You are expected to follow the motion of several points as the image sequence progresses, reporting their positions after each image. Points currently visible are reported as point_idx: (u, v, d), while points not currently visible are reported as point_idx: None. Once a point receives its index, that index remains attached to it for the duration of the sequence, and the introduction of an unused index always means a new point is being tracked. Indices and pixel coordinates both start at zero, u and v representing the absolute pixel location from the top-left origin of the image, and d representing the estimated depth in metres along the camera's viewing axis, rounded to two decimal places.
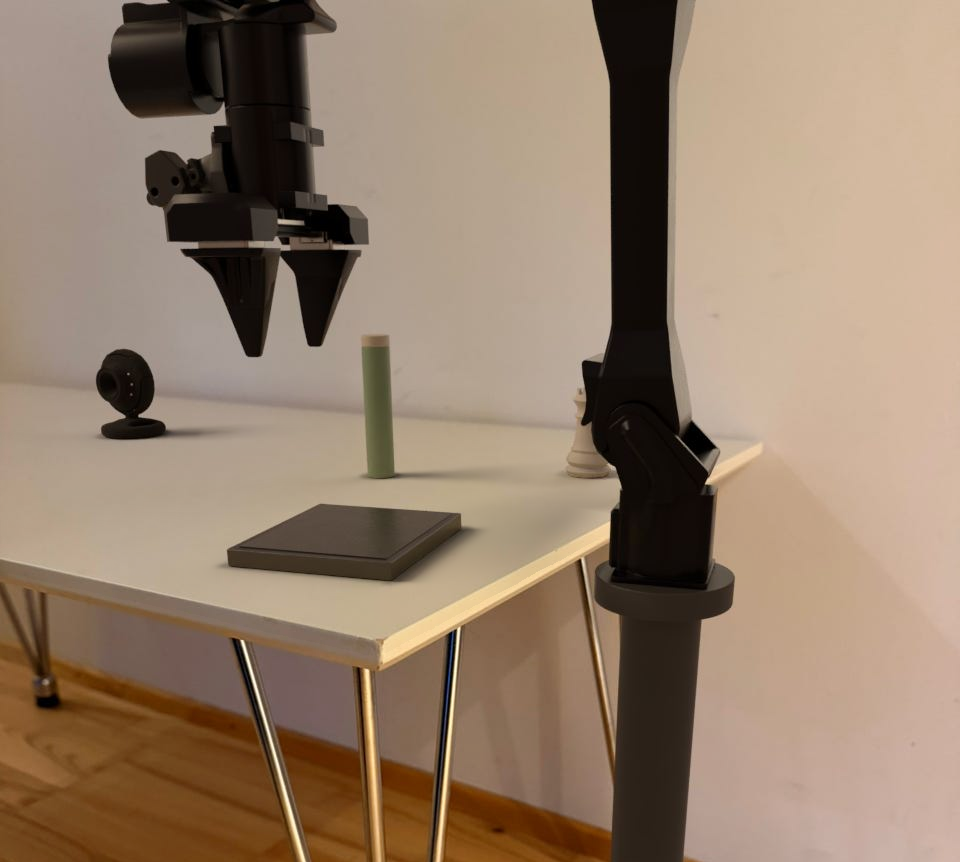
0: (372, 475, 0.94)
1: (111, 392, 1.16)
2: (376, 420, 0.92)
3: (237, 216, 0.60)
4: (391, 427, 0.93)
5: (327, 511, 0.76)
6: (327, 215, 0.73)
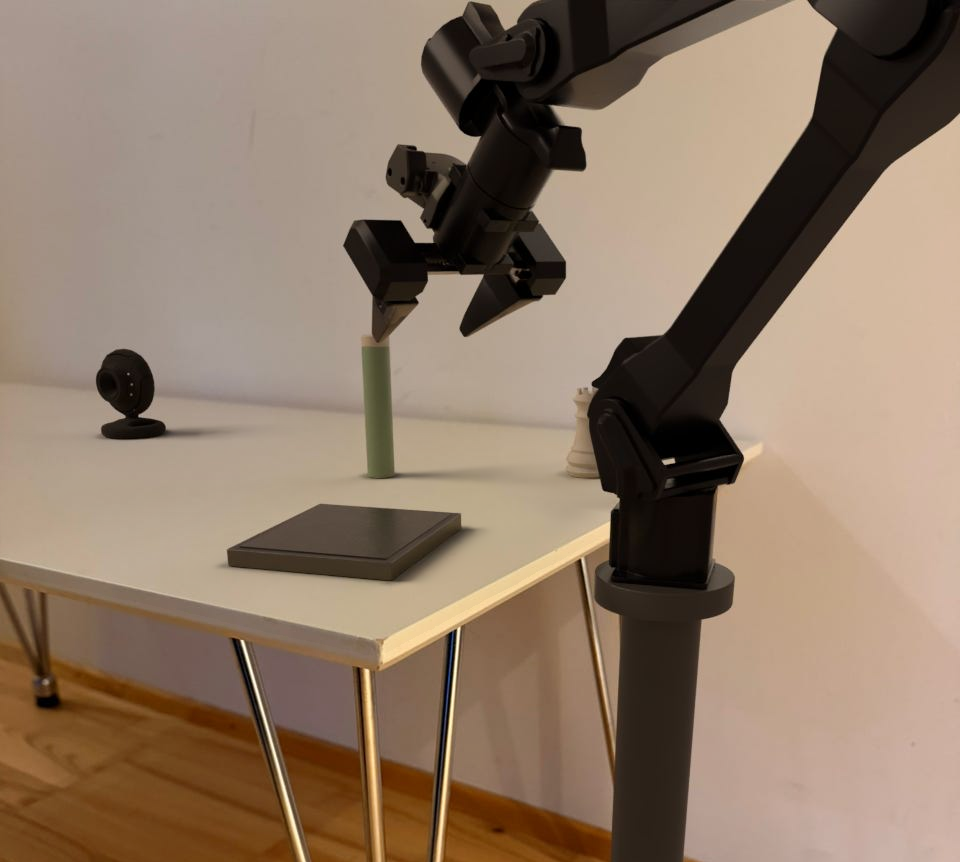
0: (372, 475, 0.94)
1: (111, 392, 1.16)
2: (376, 420, 0.92)
3: (378, 280, 0.71)
4: (391, 427, 0.93)
5: (327, 511, 0.76)
6: (526, 261, 0.80)
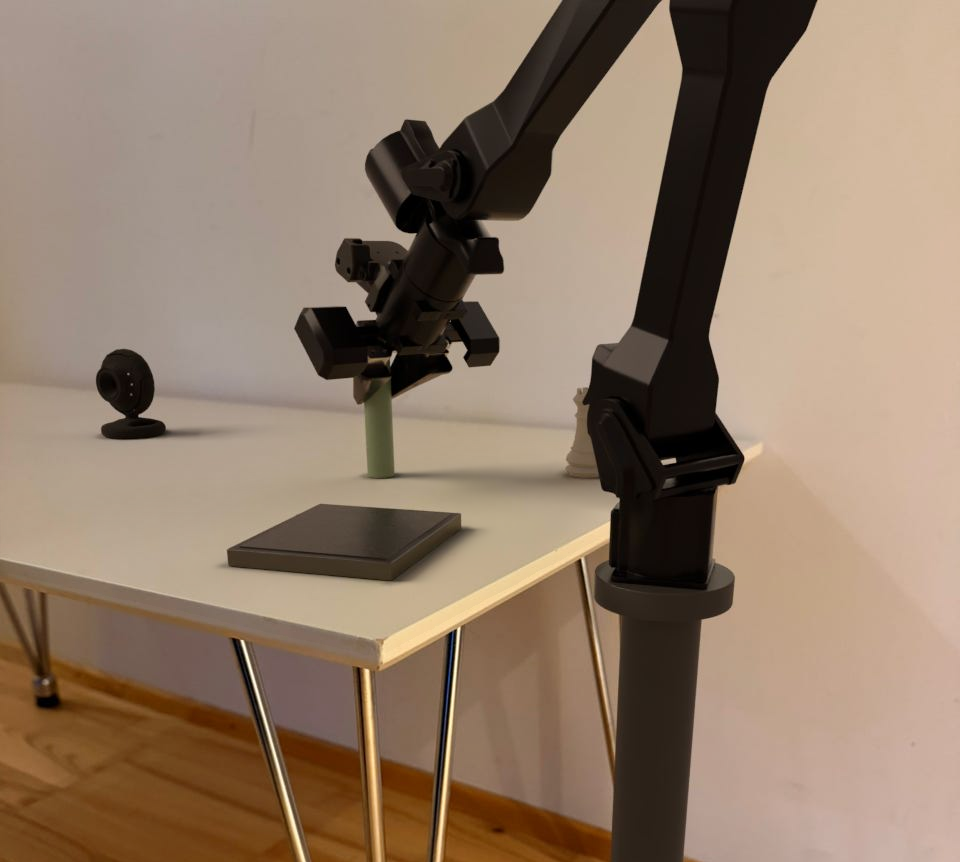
0: (372, 475, 0.94)
1: (111, 392, 1.16)
2: (376, 420, 0.92)
3: (323, 363, 0.81)
4: (391, 427, 0.93)
5: (327, 511, 0.76)
6: (462, 337, 0.89)
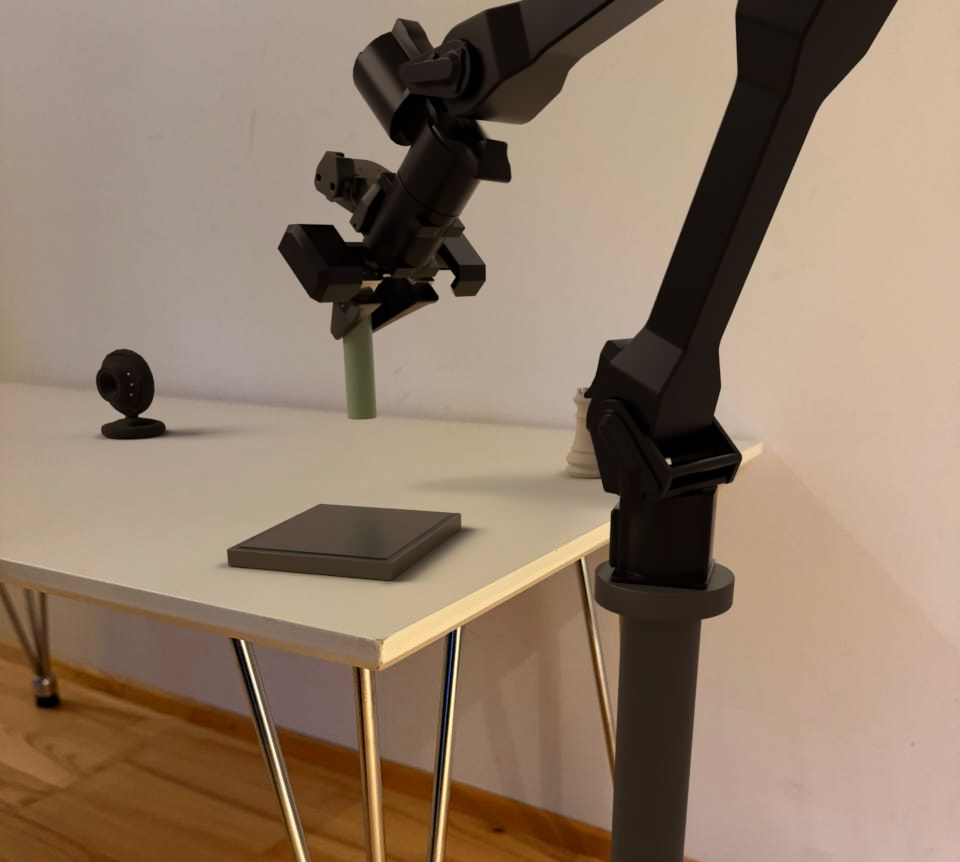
0: (354, 417, 0.87)
1: (111, 392, 1.16)
2: (358, 356, 0.85)
3: (316, 283, 0.74)
4: (373, 364, 0.86)
5: (327, 511, 0.76)
6: (449, 264, 0.84)
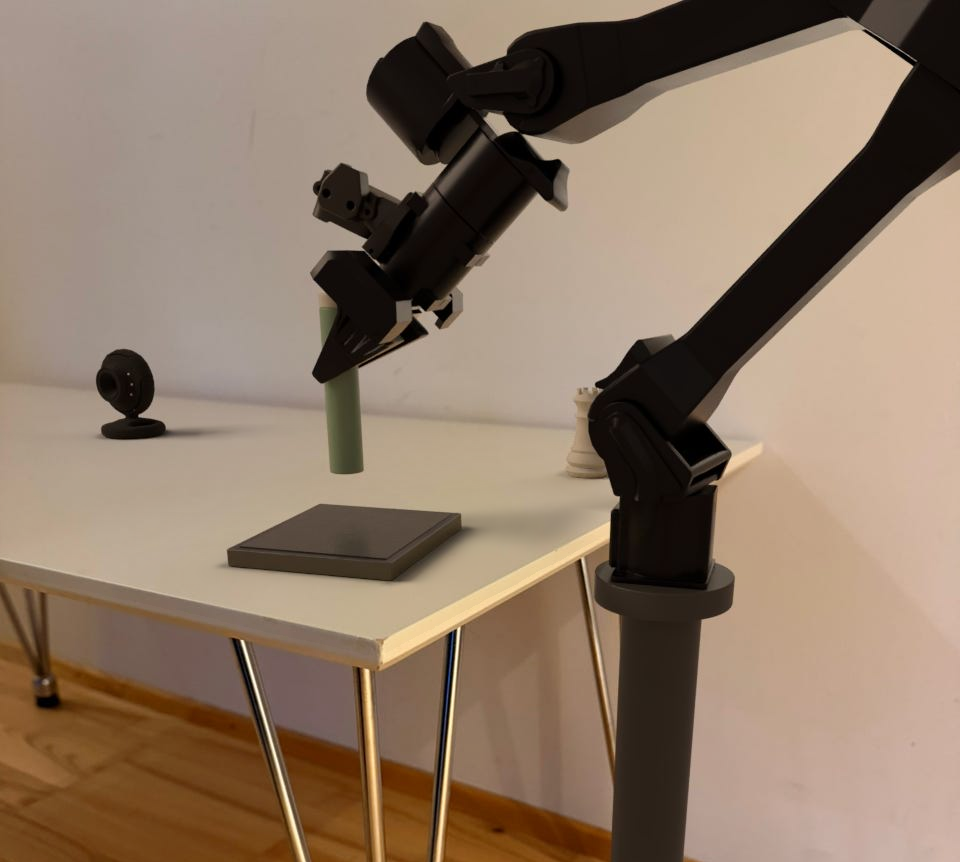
0: (346, 471, 0.75)
1: (111, 392, 1.16)
2: (350, 401, 0.73)
3: (382, 321, 0.62)
4: (360, 409, 0.75)
5: (327, 511, 0.76)
6: None
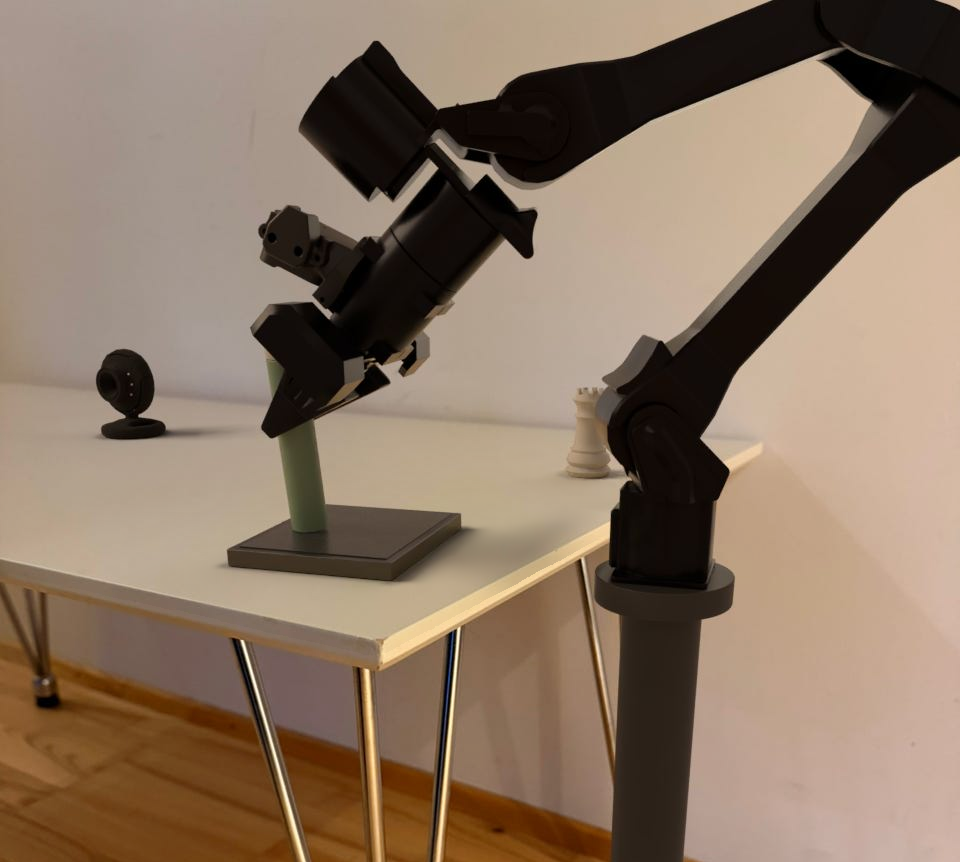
0: (309, 529, 0.70)
1: (111, 392, 1.16)
2: (308, 456, 0.68)
3: (328, 383, 0.56)
4: (319, 461, 0.69)
5: (327, 511, 0.76)
6: None
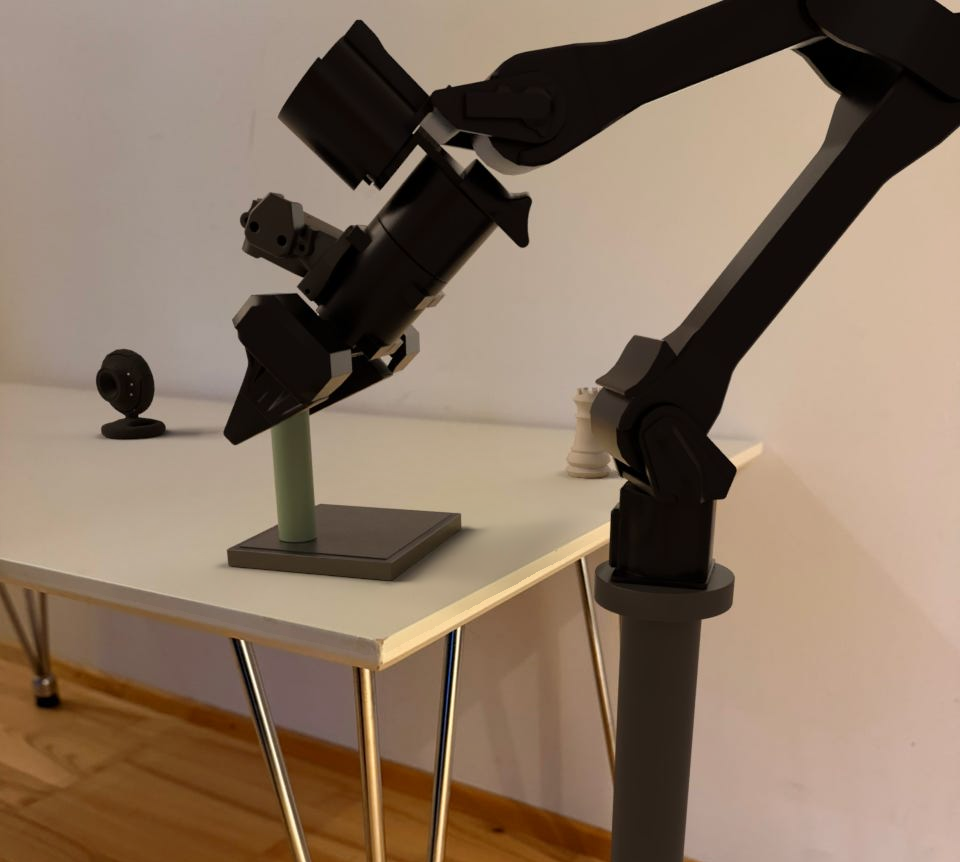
0: (297, 539, 0.67)
1: (111, 392, 1.16)
2: (301, 462, 0.66)
3: (314, 377, 0.54)
4: None
5: (327, 511, 0.76)
6: None
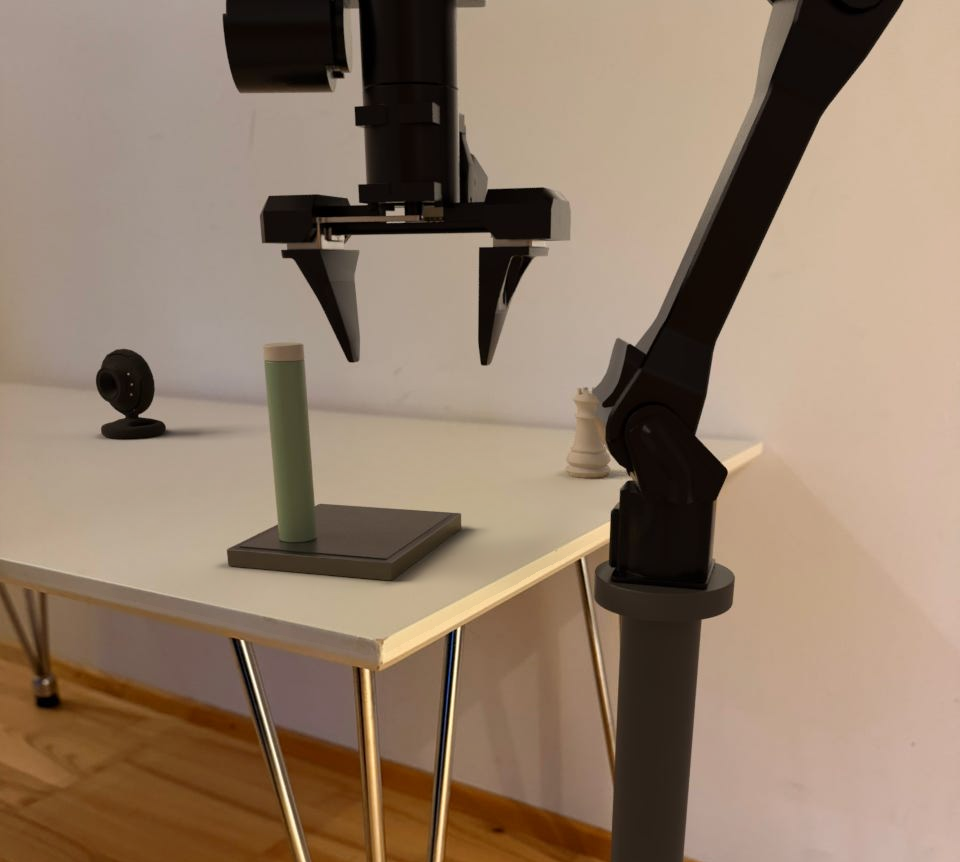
0: (297, 539, 0.67)
1: (111, 392, 1.16)
2: (301, 462, 0.66)
3: (260, 219, 0.61)
4: None
5: (327, 511, 0.76)
6: None
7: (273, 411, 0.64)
